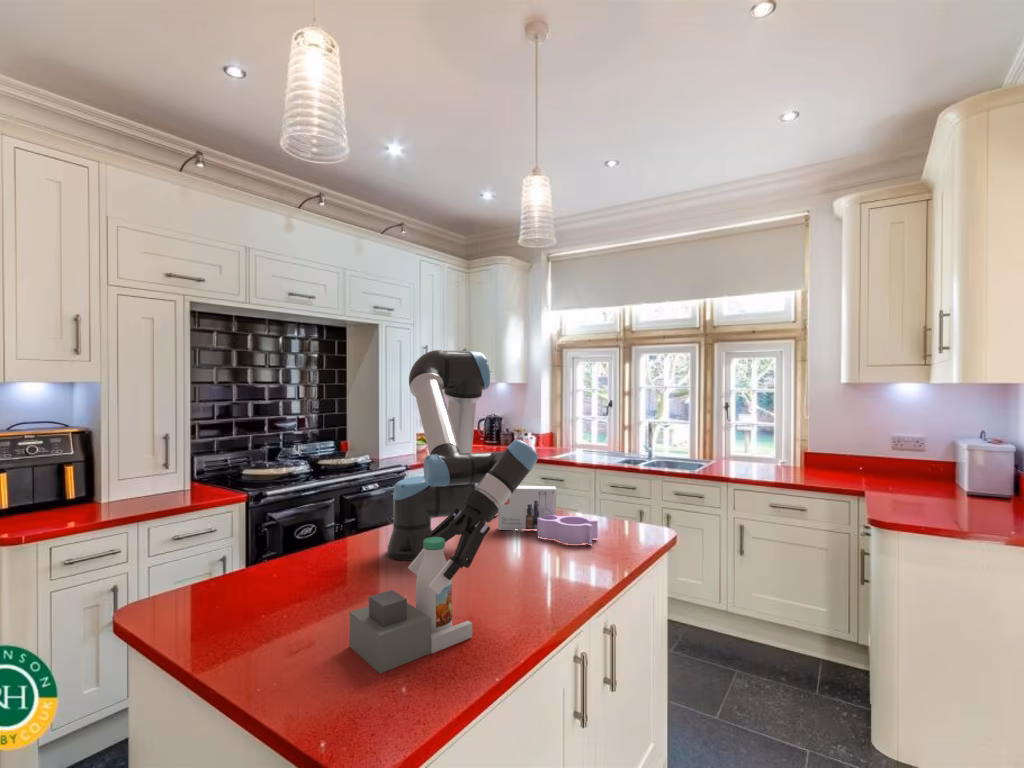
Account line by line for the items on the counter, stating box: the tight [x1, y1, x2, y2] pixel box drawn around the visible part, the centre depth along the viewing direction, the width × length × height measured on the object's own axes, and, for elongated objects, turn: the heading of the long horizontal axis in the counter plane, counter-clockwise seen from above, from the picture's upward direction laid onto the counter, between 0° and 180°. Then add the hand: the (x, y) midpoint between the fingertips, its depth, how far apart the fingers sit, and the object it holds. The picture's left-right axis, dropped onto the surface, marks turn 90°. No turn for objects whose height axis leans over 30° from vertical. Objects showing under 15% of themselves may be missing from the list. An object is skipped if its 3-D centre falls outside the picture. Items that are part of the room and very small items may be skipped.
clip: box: [536, 514, 599, 545], centre depth 177 cm, size 20×12×7 cm, turn 66°
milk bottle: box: [415, 537, 453, 634], centre depth 110 cm, size 8×8×20 cm
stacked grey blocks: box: [349, 589, 473, 674], centre depth 106 cm, size 14×21×11 cm, turn 132°
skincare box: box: [497, 485, 557, 530], centre depth 188 cm, size 21×6×16 cm, turn 90°
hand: (422, 580), depth 108 cm, fingers open, 11 cm apart
